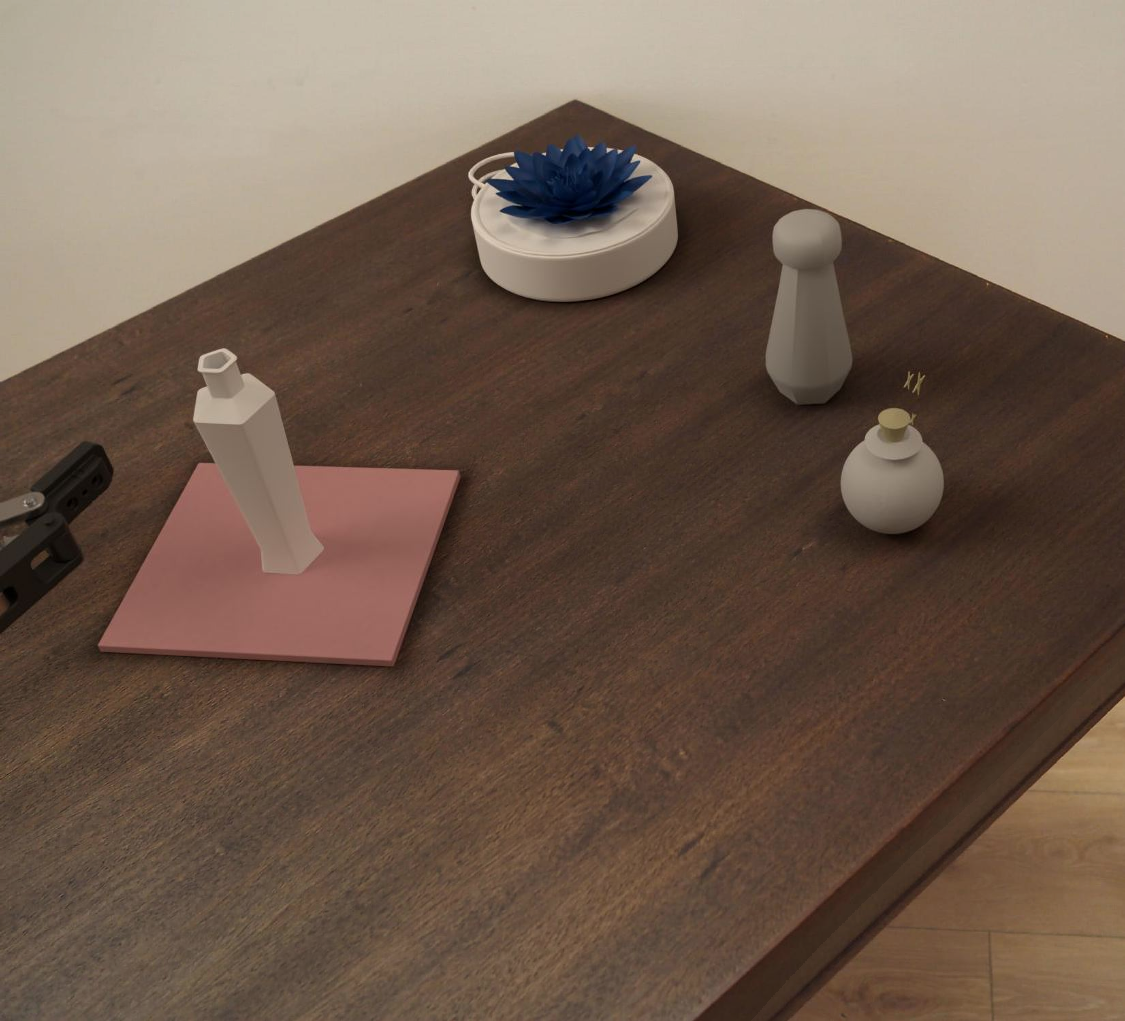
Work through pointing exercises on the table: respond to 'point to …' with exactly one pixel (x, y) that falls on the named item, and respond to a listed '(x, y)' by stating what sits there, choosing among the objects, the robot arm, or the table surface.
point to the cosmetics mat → (285, 601)
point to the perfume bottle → (255, 461)
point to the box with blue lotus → (573, 221)
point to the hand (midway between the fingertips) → (35, 433)
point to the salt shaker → (808, 310)
